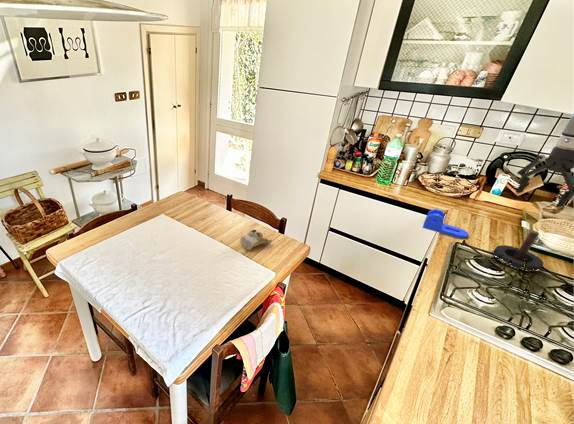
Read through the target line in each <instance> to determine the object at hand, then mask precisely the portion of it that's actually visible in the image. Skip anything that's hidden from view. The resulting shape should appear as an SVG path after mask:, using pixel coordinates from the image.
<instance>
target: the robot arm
mask: <svg viewBox="0 0 574 424" xmlns="http://www.w3.org/2000/svg"><path fill="white" fill-rule="evenodd" d="M541 162H545V164H544V165H541V166H539V167H537V168H535V167H536V166H537V165H538V164H540V163H541ZM533 168H535V169H533ZM532 169H533V170H532ZM572 169H574V112H573V113H572V115H571V116H570V118H569V120H568V122H567V123H566V125H565V127H564V128H563V130H562V132H561V134H560V136H559V137H558V139H557V141H556V142H555V146H553V148H552V149H551V151H550V153H549V155H548V157H547V156H546V155H545V154H540V155H537V156H536V157H535V158H534V160H532V161H530V162H529V163H528V164H527V165H525V166H523V167H522V168H521V169H520V170H518V171H517V172H516V174H517V175H519V176H520V178H519V181H518V183H517V184H518V187H517V189H516V191H515V193H517V194H520V193H523V192H524V190H525V188H526V187H527V185H528V183H529V181H530V180H531V176H533V175H536V174H539V173H541V172H544V171H545V170H547V171H549V172H555V173H557V174H561V176H562V177H563V180H564V182H565V184H566V187H567V190H565V191H564V193H563V194H562V196H561V197H560V199H559V201H558V202H557V203H556V206H555V207H556V208H563V207H564V206H565V205H566V203H567V202H568V201H571V200H572V199H573V198H574V177H573V171H572Z"/></svg>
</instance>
